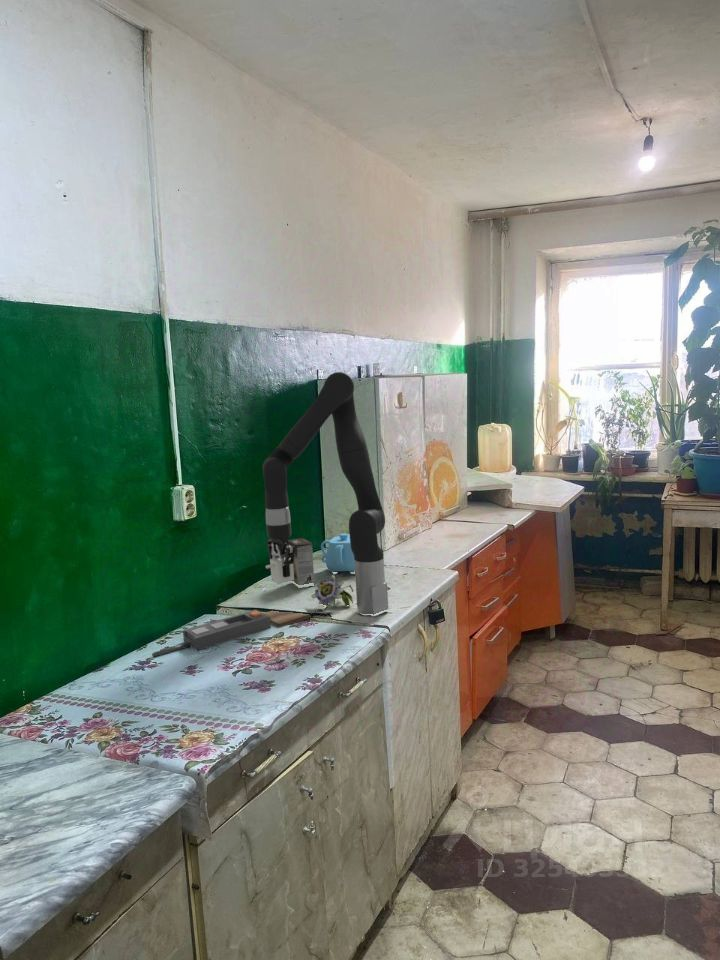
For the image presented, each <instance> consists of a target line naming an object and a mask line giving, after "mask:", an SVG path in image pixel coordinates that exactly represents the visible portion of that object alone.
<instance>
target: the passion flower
mask: <svg viewBox="0 0 720 960" xmlns="http://www.w3.org/2000/svg"><path fill="white" fill-rule="evenodd" d="M344 584H345V581H344V580H340V581H337V582H336V574H331V575H330V577H328V578H326V579H323V580H322V579H321V580H320V581H319V583H318V585H316V586H317V587H318V588H317V589H315V591H314V593H313V594H312V595H311V596H310V597H311V598H312V599H315V598H316V599H317V600H318V605H319V604H323V605H326V606H327V605H328V606H330V607H332V608H334V606H335V605H336V600H337V599H338V600H339V599H341V600H342V601H343V603H344V605H345V606H347V605H349V606H350V602H351V604H354V602H353V601H354V600H353V596H352V595H351V594H350V593H349V592H348V591H346V590H345V589H347V588H348V587H349V588H350V591H351V592H354V589H353V587H352V585H351V584H350V585H349V584H348V585H347V586H345V587H342V586H343V585H344ZM323 605H322V606H323Z"/></svg>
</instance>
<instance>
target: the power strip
mask: <svg viewBox="0 0 720 960" xmlns="http://www.w3.org/2000/svg"><path fill="white" fill-rule="evenodd" d="M264 613H265V612H262V611H259V610H258V609H253V610H249V611H245V612H242V613H239V614H235V615H231V616H228V617H225V618H221V619H217V620H215V621H214V620H213V621H210V622H207V623H203V624H200V625H196V626H193V627H190V628H186V629H182V635H183V636H182V637H183V642H184V643H182V644H178V645H177V644H176V645H174V646H171V647H168V648H165V649H161V650H158V651H154V652H152V654H151V656H152V657H153V656H156V657H158V656H157V655H159V656H162V655H165V654H164V653H166V654H168V653H167V652H169V653H172V652H175V650H176V651H178V649H179V650H182V649H185V647H186V648H189V647H190V648H192V649H194V650H195V649H196V651H199V650H198V649H200V650H202V649H206V648H208V647H211V646H216V645H219V644H222V643H225V642H228V641H229V642H230V641H231V640H235V639H238V638H241V637H245V636H249V635H251V634H254V633H258V632H262V631H264V630H268V629H270V628H272V625H271V624H272V623H270V616H268V615H266V614H264ZM171 651H172V652H171ZM161 654H162V655H161Z"/></svg>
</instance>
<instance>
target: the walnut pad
mask: <svg viewBox="0 0 720 960" xmlns="http://www.w3.org/2000/svg"><path fill="white" fill-rule="evenodd" d="M263 613H264V614H266V615H268V616H270V623H271V624H272V625H274V626H276V627H278V628H280V627H284V626H288V625H290V624H293V623H297V622H300V621H303V620H307V619H310V618H309V616H310V615H309V614H303V613H293V612H279V611H273V610H270V611H266V612H263Z"/></svg>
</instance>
